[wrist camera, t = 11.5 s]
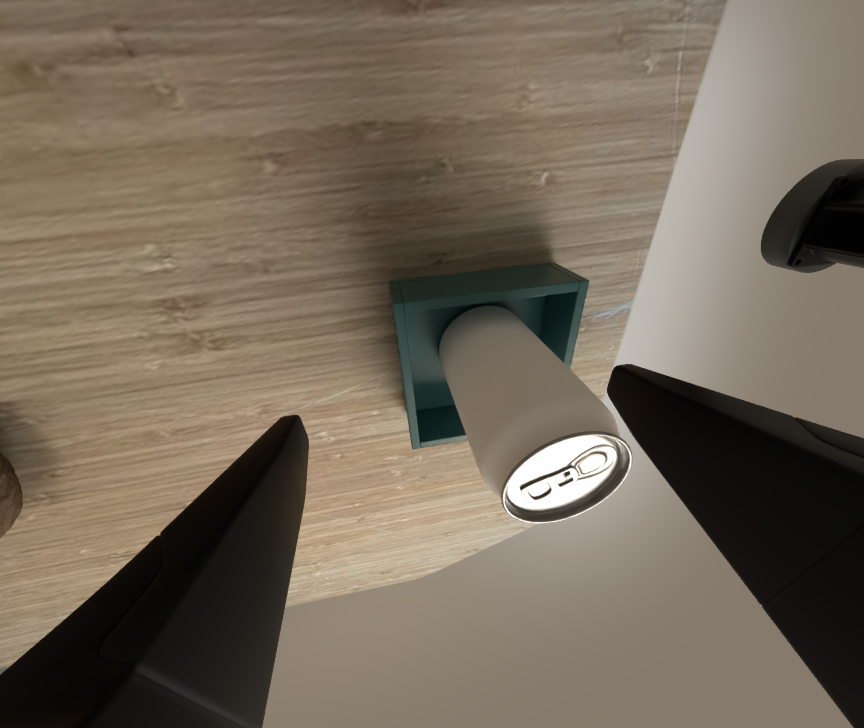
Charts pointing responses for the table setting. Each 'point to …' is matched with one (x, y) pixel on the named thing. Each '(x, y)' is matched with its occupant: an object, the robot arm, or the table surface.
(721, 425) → the robot arm
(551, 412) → the can
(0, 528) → the bowl
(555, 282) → the teal shallow tray
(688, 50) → the table surface
